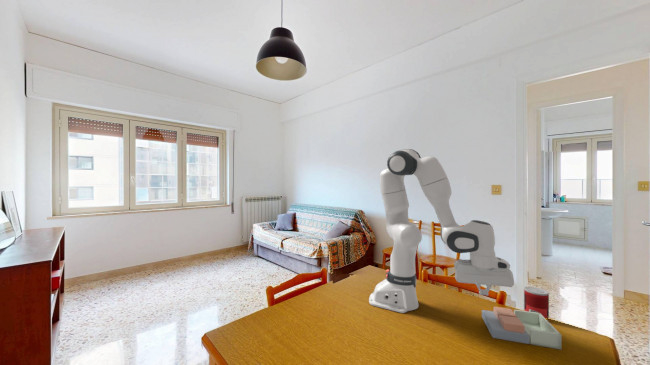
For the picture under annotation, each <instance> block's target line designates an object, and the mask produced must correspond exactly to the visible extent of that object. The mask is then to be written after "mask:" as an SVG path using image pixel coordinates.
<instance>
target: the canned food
mask: <svg viewBox="0 0 650 365" xmlns="http://www.w3.org/2000/svg"><path fill="white" fill-rule="evenodd" d="M549 295H550V294H549V291H547V290H545V289H543V288H540V287H536V286H524V289H523V302H524V304H523V309H524V310H523V311H528V312H536V313H540V314H541V315H542V316H543V317H544V318H547V319H548V320H549V317H550V314H549V309H550V304H549V303H550V296H549Z"/></svg>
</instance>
